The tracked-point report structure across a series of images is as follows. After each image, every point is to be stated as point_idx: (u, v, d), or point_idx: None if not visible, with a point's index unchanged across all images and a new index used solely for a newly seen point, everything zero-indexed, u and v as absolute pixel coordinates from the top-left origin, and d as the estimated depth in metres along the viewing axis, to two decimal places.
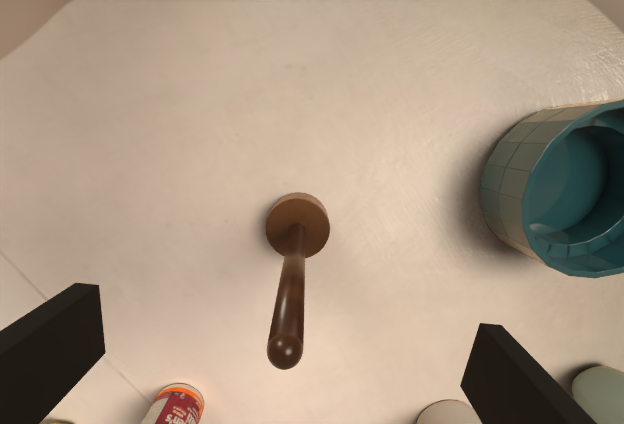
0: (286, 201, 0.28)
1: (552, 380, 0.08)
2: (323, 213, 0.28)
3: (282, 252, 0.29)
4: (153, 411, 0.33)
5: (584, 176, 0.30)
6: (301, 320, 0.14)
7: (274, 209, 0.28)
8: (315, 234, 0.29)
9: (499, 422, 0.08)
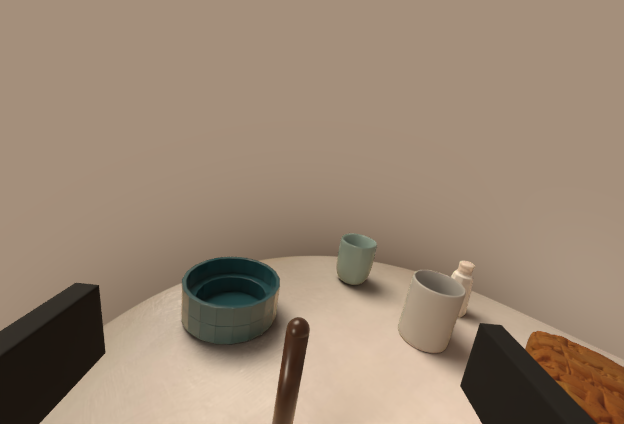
0: None
1: (552, 380, 0.08)
2: None
3: None
4: None
5: (227, 299, 0.52)
6: None
7: None
8: None
9: (499, 422, 0.08)
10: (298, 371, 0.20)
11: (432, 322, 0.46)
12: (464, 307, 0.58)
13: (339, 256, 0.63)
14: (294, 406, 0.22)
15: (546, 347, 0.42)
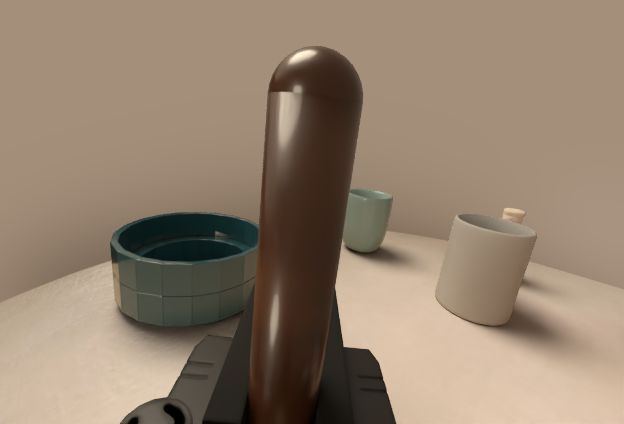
0: None
1: (335, 307, 0.10)
2: None
3: None
4: None
5: None
6: None
7: None
8: None
9: None
10: (323, 278, 0.05)
11: (493, 279, 0.31)
12: None
13: None
14: (311, 420, 0.06)
15: None
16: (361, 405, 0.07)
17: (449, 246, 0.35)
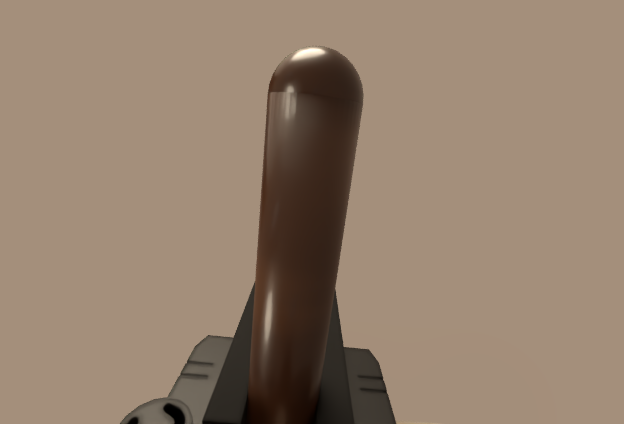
0: None
1: (335, 307, 0.10)
2: None
3: None
4: None
5: None
6: None
7: None
8: None
9: None
10: (324, 278, 0.05)
11: None
12: None
13: None
14: (311, 421, 0.06)
15: None
16: (361, 405, 0.07)
17: None
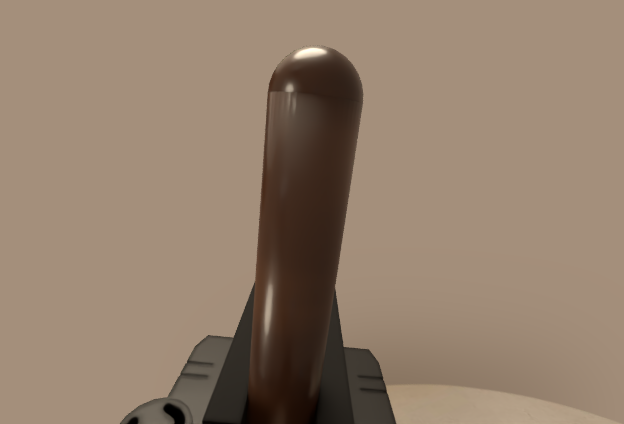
0: None
1: (335, 307, 0.10)
2: None
3: None
4: None
5: None
6: None
7: None
8: None
9: None
10: (323, 278, 0.05)
11: None
12: None
13: None
14: (311, 420, 0.06)
15: None
16: (361, 405, 0.07)
17: None
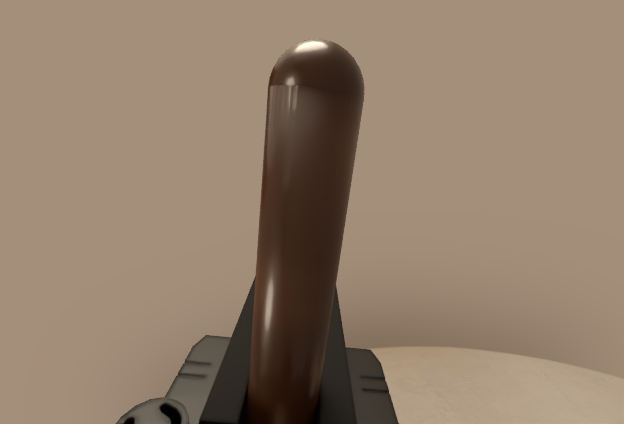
0: None
1: (336, 307, 0.10)
2: None
3: None
4: None
5: None
6: None
7: None
8: None
9: None
10: (324, 274, 0.05)
11: None
12: None
13: None
14: (311, 418, 0.06)
15: None
16: (363, 405, 0.07)
17: None
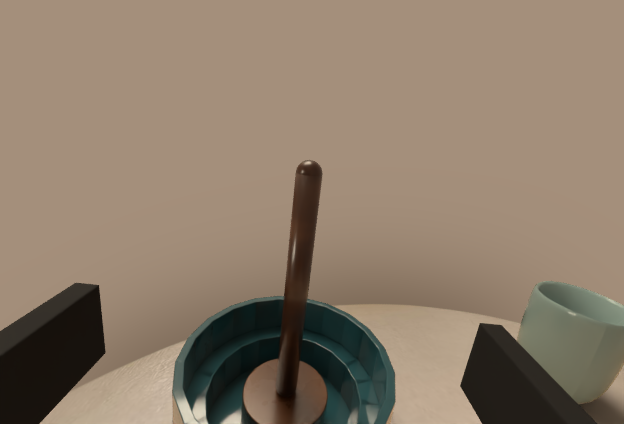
0: (247, 409, 0.20)
1: (552, 380, 0.08)
2: (260, 366, 0.24)
3: (322, 403, 0.21)
4: None
5: None
6: None
7: (261, 423, 0.19)
8: None
9: (499, 422, 0.08)
10: (311, 224, 0.18)
11: None
12: None
13: (528, 329, 0.29)
14: (308, 275, 0.19)
15: None
16: None
17: None
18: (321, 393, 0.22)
